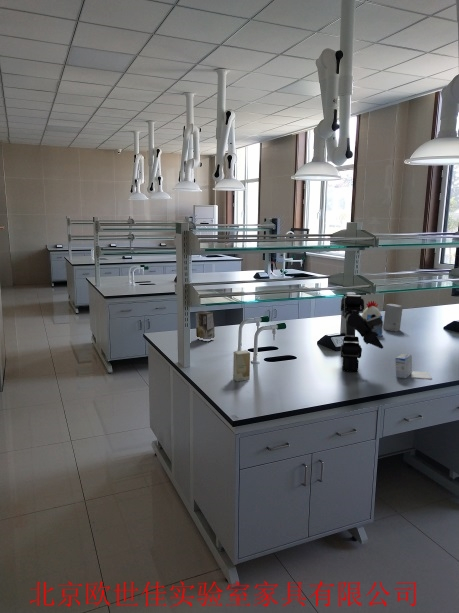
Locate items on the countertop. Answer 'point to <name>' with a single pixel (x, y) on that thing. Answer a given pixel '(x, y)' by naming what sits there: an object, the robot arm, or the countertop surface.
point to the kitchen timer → (371, 310)
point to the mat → (420, 375)
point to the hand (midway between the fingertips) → (382, 347)
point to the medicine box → (403, 365)
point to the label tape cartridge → (377, 326)
